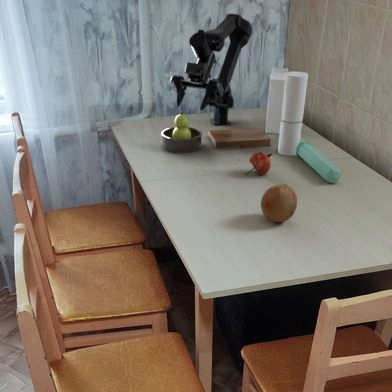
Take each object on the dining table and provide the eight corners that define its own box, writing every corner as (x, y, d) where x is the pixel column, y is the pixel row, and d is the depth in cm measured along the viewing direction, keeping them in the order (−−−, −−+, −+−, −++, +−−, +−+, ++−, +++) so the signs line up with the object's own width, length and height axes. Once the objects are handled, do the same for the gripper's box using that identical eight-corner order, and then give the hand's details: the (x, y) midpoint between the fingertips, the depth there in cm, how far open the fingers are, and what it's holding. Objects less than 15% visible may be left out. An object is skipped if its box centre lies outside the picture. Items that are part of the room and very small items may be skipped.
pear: (171, 143, 195) (170, 109, 188) (189, 142, 196) (189, 108, 189) (174, 149, 190) (173, 115, 183) (192, 148, 191) (192, 114, 184)
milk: (268, 128, 211) (273, 65, 197) (283, 129, 210) (289, 66, 196) (265, 133, 206) (270, 69, 193) (280, 134, 205) (287, 70, 191)
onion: (271, 209, 154) (275, 174, 147) (302, 219, 149) (306, 184, 143) (252, 220, 148) (254, 185, 142) (283, 231, 143) (287, 195, 137)
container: (342, 164, 164) (309, 137, 183) (324, 173, 164) (293, 145, 183) (345, 181, 168) (312, 152, 187) (328, 190, 168) (297, 160, 187)
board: (208, 137, 202) (208, 130, 200) (260, 134, 205) (260, 127, 203) (215, 149, 192) (215, 142, 190) (270, 146, 195) (270, 139, 193)
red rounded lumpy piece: (252, 186, 172) (279, 167, 169) (239, 167, 169) (266, 147, 166) (251, 179, 178) (277, 161, 175) (239, 161, 176) (265, 142, 172)
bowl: (159, 141, 198) (158, 127, 194) (197, 139, 200) (197, 125, 197) (165, 155, 187) (164, 140, 184) (205, 153, 189) (205, 138, 186)
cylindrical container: (297, 149, 193) (307, 71, 177) (298, 156, 187) (308, 76, 171) (277, 148, 193) (285, 71, 178) (278, 155, 188) (286, 76, 172)
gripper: (172, 49, 186) (157, 90, 185) (221, 54, 180) (206, 97, 179) (183, 69, 197) (169, 109, 196) (230, 75, 190) (215, 116, 189)
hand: (189, 108), depth 190 cm, fingers open, 9 cm apart
